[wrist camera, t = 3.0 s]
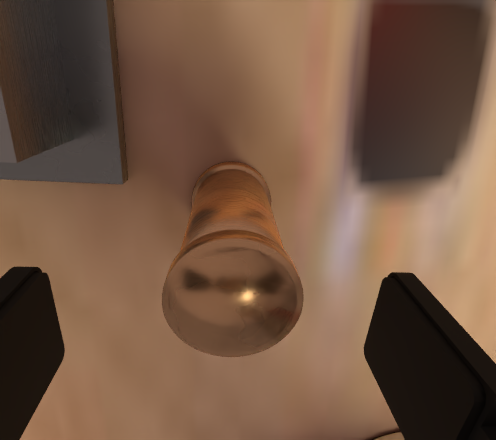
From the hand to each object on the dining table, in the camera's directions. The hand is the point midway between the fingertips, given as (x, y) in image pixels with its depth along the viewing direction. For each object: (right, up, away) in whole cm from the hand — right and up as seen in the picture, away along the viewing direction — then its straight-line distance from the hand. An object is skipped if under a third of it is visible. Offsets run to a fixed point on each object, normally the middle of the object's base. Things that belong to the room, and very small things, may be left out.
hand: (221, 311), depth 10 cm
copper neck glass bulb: (0, +4, +11) cm, 11 cm away
